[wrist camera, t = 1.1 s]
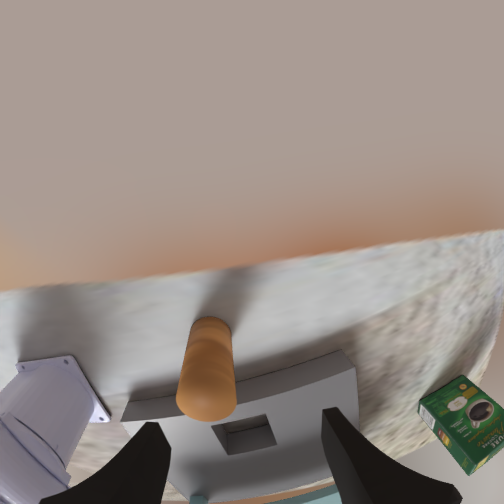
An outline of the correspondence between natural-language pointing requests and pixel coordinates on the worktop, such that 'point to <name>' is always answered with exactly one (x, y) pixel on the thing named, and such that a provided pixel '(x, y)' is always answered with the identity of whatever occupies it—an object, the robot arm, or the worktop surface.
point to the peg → (208, 372)
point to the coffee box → (465, 422)
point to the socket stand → (257, 435)
